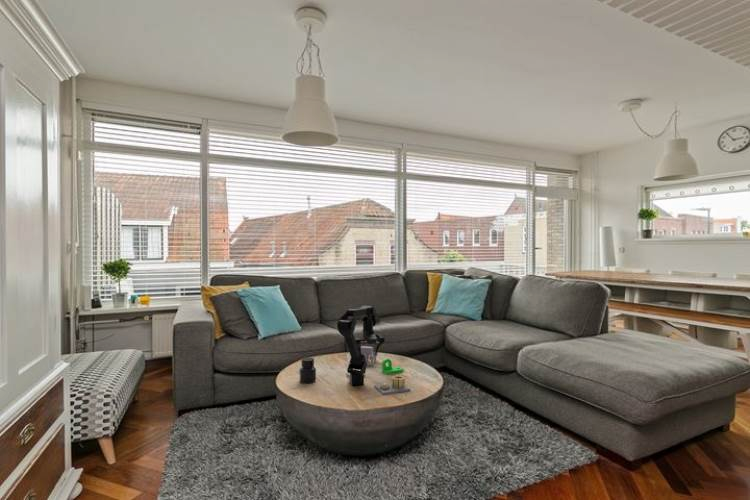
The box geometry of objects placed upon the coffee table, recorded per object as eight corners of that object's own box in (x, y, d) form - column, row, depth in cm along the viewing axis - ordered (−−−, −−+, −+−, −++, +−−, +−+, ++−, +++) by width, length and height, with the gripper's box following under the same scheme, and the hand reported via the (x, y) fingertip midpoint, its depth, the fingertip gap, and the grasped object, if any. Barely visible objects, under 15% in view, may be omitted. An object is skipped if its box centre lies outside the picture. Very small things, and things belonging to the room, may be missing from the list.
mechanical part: (387, 375, 235) (387, 361, 235) (381, 372, 241) (382, 359, 241) (404, 372, 241) (404, 358, 241) (399, 369, 246) (399, 356, 246)
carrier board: (383, 394, 204) (383, 386, 204) (374, 387, 215) (374, 379, 215) (410, 390, 209) (410, 382, 209) (400, 383, 220) (400, 376, 220)
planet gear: (395, 388, 209) (395, 380, 209) (389, 385, 215) (389, 376, 215) (406, 387, 212) (406, 378, 212) (401, 383, 218) (401, 375, 218)
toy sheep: (342, 364, 257) (342, 342, 257) (349, 360, 267) (349, 339, 267) (372, 367, 250) (372, 345, 250) (378, 363, 260) (378, 341, 260)
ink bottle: (307, 377, 232) (307, 355, 231) (319, 379, 227) (319, 358, 227) (295, 382, 223) (295, 359, 223) (308, 384, 219) (308, 362, 219)
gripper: (357, 332, 221) (357, 361, 221) (388, 329, 228) (388, 357, 228) (350, 328, 231) (350, 356, 231) (381, 326, 238) (381, 353, 238)
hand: (367, 355), depth 232 cm, fingers open, 9 cm apart
